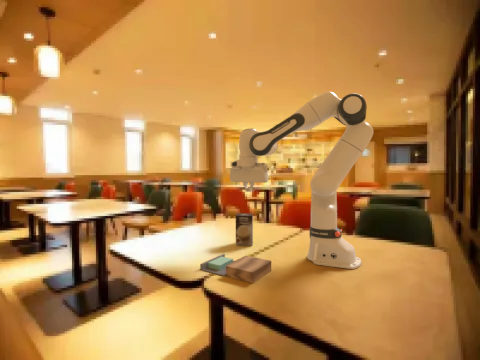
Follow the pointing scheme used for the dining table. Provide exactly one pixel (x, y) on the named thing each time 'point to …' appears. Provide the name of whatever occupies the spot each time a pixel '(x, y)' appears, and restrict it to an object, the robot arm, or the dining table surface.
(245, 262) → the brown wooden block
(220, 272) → the tray
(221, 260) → the pale green rectangular block
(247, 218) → the coffee box
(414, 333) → the dining table surface
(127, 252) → the dining table surface
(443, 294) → the dining table surface
